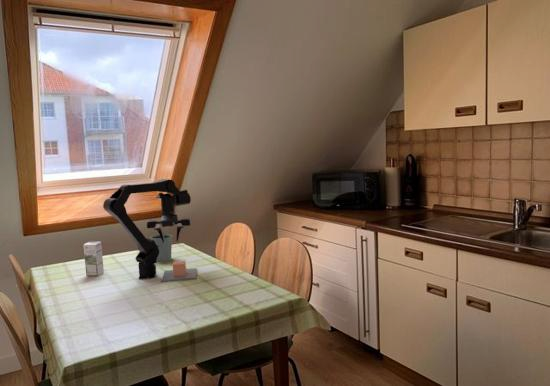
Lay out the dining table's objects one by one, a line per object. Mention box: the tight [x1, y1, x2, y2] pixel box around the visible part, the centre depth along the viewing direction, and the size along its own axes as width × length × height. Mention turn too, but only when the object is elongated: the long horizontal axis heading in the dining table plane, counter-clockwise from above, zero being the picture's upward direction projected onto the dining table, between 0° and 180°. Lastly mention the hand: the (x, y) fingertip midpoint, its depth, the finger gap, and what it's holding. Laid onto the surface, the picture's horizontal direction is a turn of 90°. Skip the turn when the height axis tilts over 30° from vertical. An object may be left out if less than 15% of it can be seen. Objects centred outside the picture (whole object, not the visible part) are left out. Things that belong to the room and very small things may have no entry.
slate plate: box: [161, 267, 198, 283], centre depth 192 cm, size 14×14×1 cm
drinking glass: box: [149, 233, 173, 263], centre depth 219 cm, size 10×10×12 cm
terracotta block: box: [172, 260, 187, 276], centre depth 192 cm, size 5×5×5 cm
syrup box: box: [82, 241, 105, 277], centre depth 199 cm, size 6×6×14 cm
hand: (170, 241), depth 200 cm, fingers open, 6 cm apart
